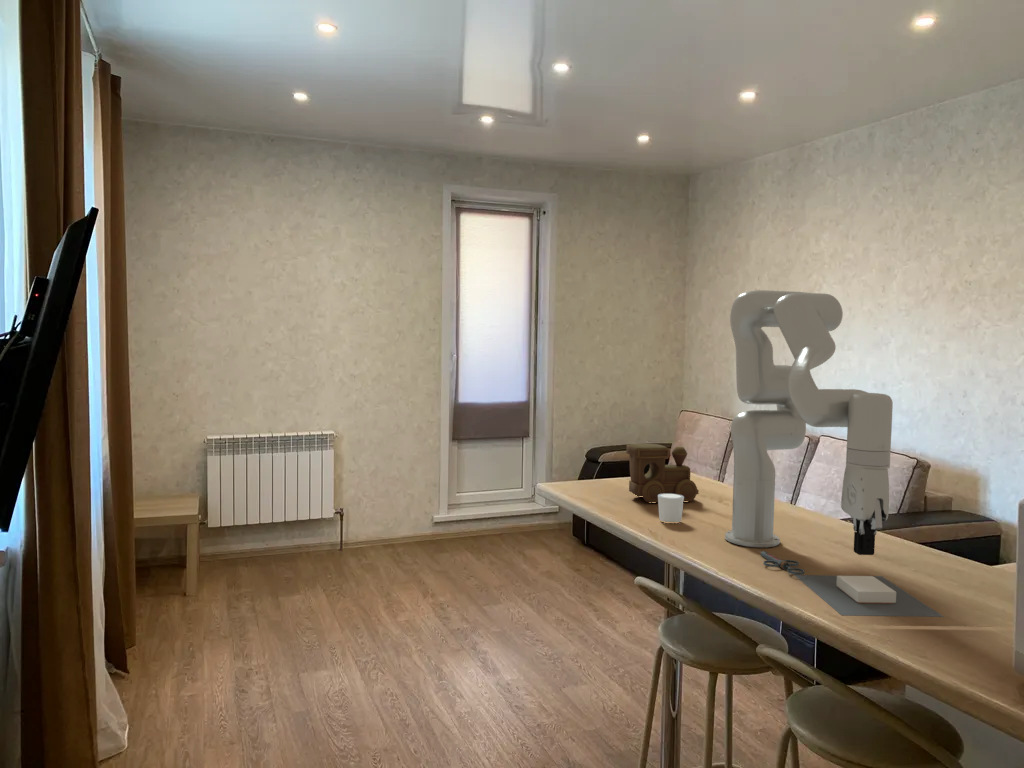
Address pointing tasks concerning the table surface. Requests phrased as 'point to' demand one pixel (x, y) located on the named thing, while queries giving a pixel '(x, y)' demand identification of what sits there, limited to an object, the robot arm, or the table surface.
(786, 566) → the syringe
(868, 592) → the tile
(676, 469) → the wooden toy train
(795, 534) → the table surface
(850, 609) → the mat
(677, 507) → the white short tapered cylinder
